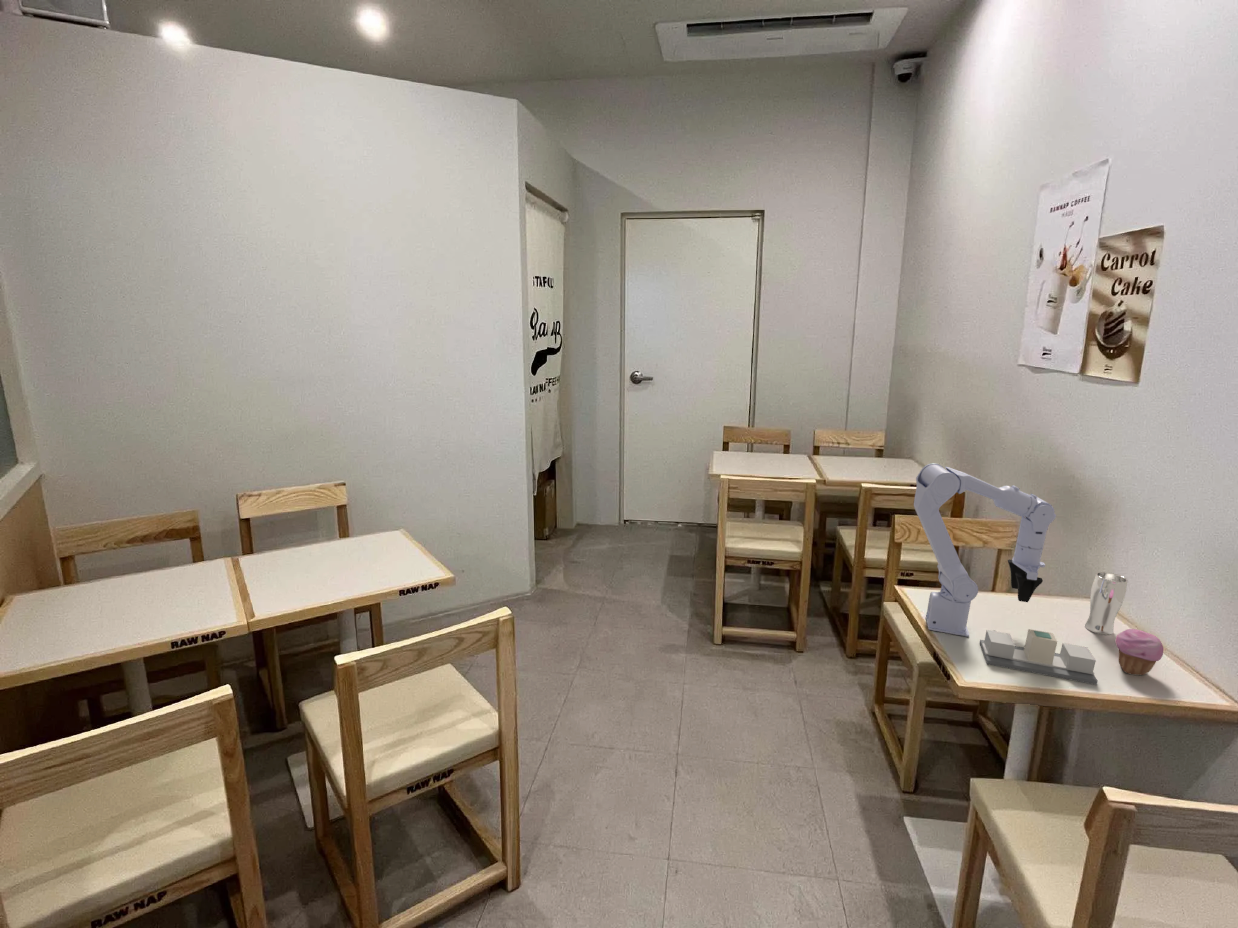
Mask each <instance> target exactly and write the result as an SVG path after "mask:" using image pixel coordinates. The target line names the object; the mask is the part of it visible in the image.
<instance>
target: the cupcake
mask: <svg viewBox="0 0 1238 928" xmlns="http://www.w3.org/2000/svg"><path fill="white" fill-rule="evenodd" d="M1114 642H1115V645H1116V647H1117V649H1118V664H1119V666H1120V667H1121V668H1122V671H1123V672H1124V673H1126V674H1129V675H1137V676H1145V675H1147V674H1148V673H1149V672H1151V670H1152V669H1153V667H1154V666H1155V664H1156V663H1157V662H1159V661H1160V660H1161V659H1162V658H1163V655H1164V645H1163V643H1162V641H1161V640H1160V638H1159V637H1158V636H1156V635H1154V634H1153V633H1149V632H1146V631H1144V630H1140V629H1136V628H1128V629H1125V630H1123V631H1122V632H1119V633H1118V634H1116V638H1115V640H1114Z"/></svg>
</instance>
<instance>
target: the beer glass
mask: <svg viewBox="0 0 1238 928" xmlns="http://www.w3.org/2000/svg"><path fill="white" fill-rule="evenodd" d="M1128 582H1129V581H1128V579H1127V578H1125V577H1124V576H1123V575H1120V574H1116V573H1114V572H1108V571H1098V572H1096V573H1095V577H1094V580H1093V582H1092V586H1091V589H1090V598H1089V599H1090V601H1089V602H1090V603H1089V604H1090V607H1089V608H1090V610H1089V615H1088V618H1087V620H1086V622H1085V624H1084V625H1085V626H1084V627H1085V628H1086V629H1087V631H1090V632H1092V633H1094V634H1098V635H1101V636H1112V635H1114V632H1115V631H1114V624H1115V620H1116V617H1117V615H1118V613H1119V611H1121V610H1120V609H1121V607H1122V606H1123V603H1124V601H1125V598H1126V593H1127V586H1128Z"/></svg>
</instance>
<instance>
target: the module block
mask: <svg viewBox="0 0 1238 928" xmlns="http://www.w3.org/2000/svg"><path fill="white" fill-rule="evenodd" d="M1057 645H1058V640H1057V638H1056V636H1055V635H1054V633H1053V632H1048V631H1042V630H1036V629H1032V628H1031V629H1030V628H1028V629H1027V633H1026V639H1025V644H1024V646H1023V647H1024V653H1025V655H1026V658H1027V660H1030V661H1036V662H1041V663H1047V664H1052V663H1053V659H1054V654H1055V653H1056V649H1057Z"/></svg>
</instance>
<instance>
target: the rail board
mask: <svg viewBox="0 0 1238 928" xmlns="http://www.w3.org/2000/svg"><path fill="white" fill-rule="evenodd" d="M979 646H980V648H981V652H982V654H983V658H984V661H985V663H986V665H990V666H995V667H1001V668H1005V669H1010V670H1016V671H1017V670H1018V671H1020V672H1021V671H1022V672H1026V673H1032V674H1038V675H1044V676H1049V677H1054V678H1060V679H1064V680H1069V681H1074V682H1075V681H1076V682H1081V683H1084V684H1085V683H1086V684H1091V685H1096V686H1097V685H1098V682H1099V681H1098V679H1097V677H1096V676H1095V672H1094V669H1095V665H1096V662H1097V660H1096V658H1095V657H1094V655H1093V653H1092V652H1091V651H1090V649H1089V647H1087V646H1082V645H1078V644H1072V643H1066V642H1062V644H1061V648H1060V652H1059V653H1058V652H1055V654H1054V659H1053V663H1052V664H1047V663H1041V662H1036V661H1030V660H1027V658H1026V655H1025V653H1024V647H1025V646H1023V647H1022V646H1019V645H1015V642H1014V640H1013V637H1012V635H1011V633H1008V632H1002V631H996V630H992V629H986V632H985V635H984V639H979Z"/></svg>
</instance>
